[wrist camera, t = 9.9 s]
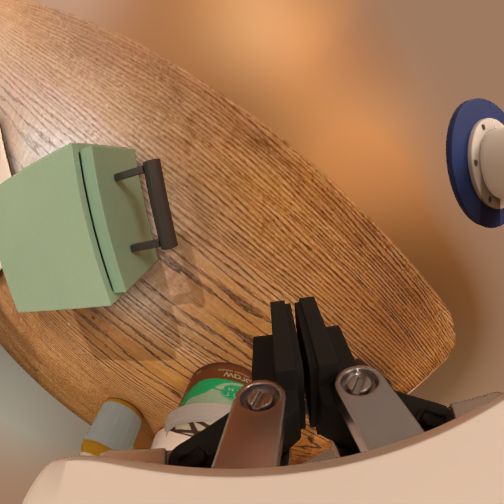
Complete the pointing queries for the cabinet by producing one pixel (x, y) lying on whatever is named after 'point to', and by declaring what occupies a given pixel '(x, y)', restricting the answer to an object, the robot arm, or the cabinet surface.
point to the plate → (3, 164)
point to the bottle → (112, 428)
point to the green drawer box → (51, 237)
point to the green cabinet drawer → (125, 212)
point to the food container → (207, 397)
